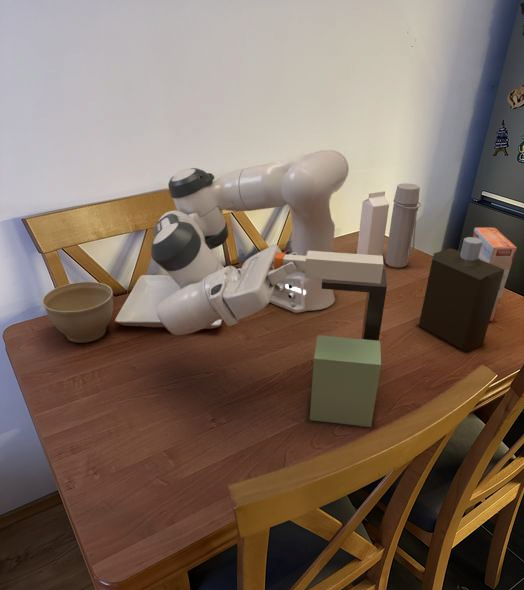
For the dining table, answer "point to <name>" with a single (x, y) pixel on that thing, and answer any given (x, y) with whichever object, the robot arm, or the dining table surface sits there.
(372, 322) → the dark l-shaped bracket
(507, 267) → the cracker box
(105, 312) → the planter bowl
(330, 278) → the white bottle
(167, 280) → the square plate
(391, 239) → the water bottle
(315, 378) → the green block
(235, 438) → the dining table surface
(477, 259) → the bottle
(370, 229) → the milk
